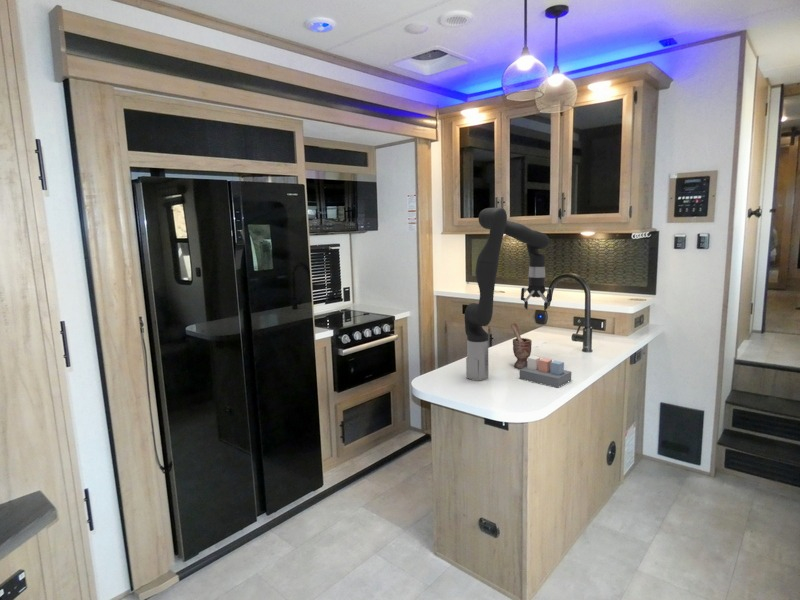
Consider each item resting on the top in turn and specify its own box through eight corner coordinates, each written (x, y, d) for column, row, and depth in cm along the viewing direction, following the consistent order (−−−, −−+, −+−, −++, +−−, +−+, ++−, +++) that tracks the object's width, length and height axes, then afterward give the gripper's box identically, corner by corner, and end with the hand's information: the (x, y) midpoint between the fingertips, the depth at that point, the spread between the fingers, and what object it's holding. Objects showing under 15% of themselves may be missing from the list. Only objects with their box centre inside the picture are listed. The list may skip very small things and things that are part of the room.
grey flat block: (557, 387, 197) (557, 378, 196) (519, 378, 210) (519, 369, 209) (571, 380, 205) (571, 371, 205) (533, 372, 218) (533, 363, 217)
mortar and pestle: (503, 365, 229) (503, 325, 226) (513, 361, 235) (514, 322, 232) (524, 370, 221) (525, 328, 218) (534, 366, 227) (535, 325, 223)
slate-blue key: (559, 375, 200) (559, 364, 199) (550, 373, 203) (550, 362, 202) (563, 373, 203) (564, 362, 202) (555, 371, 206) (555, 360, 205)
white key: (535, 370, 208) (535, 359, 207) (527, 368, 211) (527, 357, 210) (540, 368, 211) (540, 357, 210) (532, 366, 214) (532, 355, 213)
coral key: (547, 373, 204) (547, 361, 203) (538, 371, 207) (538, 360, 206) (551, 370, 207) (552, 359, 206) (543, 369, 210) (543, 358, 209)
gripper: (520, 276, 226) (519, 310, 229) (551, 277, 221) (550, 311, 223) (522, 275, 233) (521, 307, 236) (553, 275, 228) (551, 309, 230)
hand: (535, 309), depth 230 cm, fingers open, 8 cm apart
